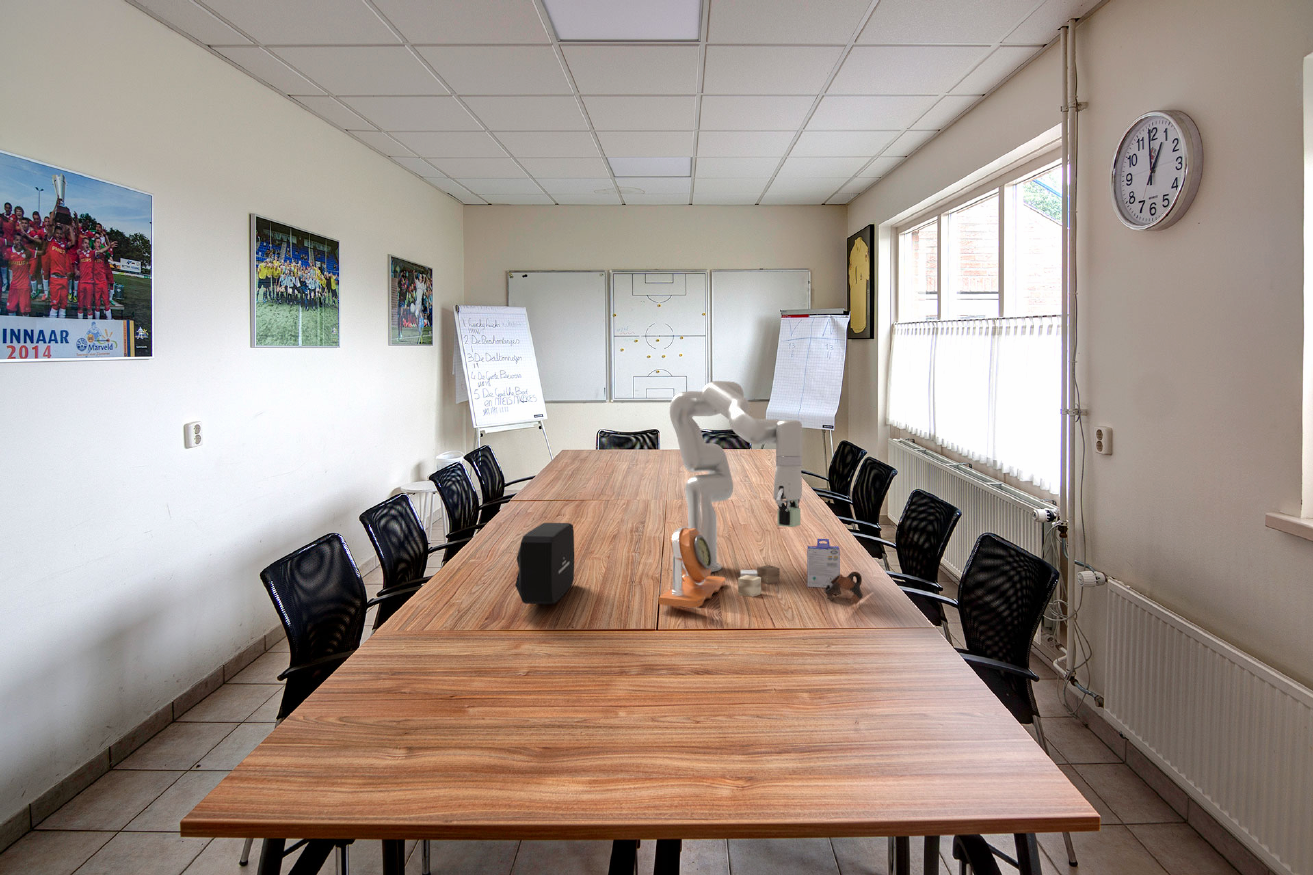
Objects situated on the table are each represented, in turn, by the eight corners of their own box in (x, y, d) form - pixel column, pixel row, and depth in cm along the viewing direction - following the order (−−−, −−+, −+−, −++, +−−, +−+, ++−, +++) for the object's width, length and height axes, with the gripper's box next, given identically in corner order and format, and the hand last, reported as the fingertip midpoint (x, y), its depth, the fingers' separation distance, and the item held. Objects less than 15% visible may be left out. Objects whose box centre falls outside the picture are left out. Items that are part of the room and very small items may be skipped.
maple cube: (738, 594, 210) (738, 578, 210) (746, 591, 214) (746, 575, 214) (753, 597, 207) (753, 580, 207) (761, 593, 211) (761, 577, 211)
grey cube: (741, 589, 216) (741, 573, 216) (740, 585, 221) (740, 569, 221) (757, 589, 216) (757, 573, 215) (756, 585, 221) (756, 570, 220)
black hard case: (552, 609, 195) (551, 537, 194) (508, 608, 196) (507, 536, 196) (575, 582, 225) (574, 520, 224) (537, 582, 226) (536, 520, 226)
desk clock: (656, 605, 198) (656, 534, 198) (691, 581, 226) (691, 519, 226) (698, 609, 194) (698, 537, 193) (728, 585, 222) (728, 521, 221)
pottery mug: (851, 612, 196) (830, 590, 197) (837, 616, 205) (816, 596, 206) (876, 581, 201) (854, 561, 202) (861, 587, 209) (840, 567, 211)
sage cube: (777, 525, 208) (777, 508, 208) (784, 523, 212) (785, 506, 212) (793, 527, 205) (793, 510, 205) (800, 524, 209) (800, 508, 209)
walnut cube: (756, 582, 225) (757, 566, 225) (768, 580, 228) (768, 564, 228) (767, 585, 221) (767, 569, 221) (779, 583, 224) (779, 567, 224)
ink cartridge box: (839, 584, 222) (839, 538, 221) (840, 588, 216) (840, 541, 216) (807, 583, 224) (807, 537, 223) (807, 587, 218) (807, 540, 218)
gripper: (789, 459, 217) (789, 518, 218) (764, 463, 203) (763, 526, 204) (812, 460, 213) (812, 521, 213) (787, 464, 199) (787, 528, 199)
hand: (788, 522), depth 209 cm, fingers closed on sage cube, 5 cm apart
